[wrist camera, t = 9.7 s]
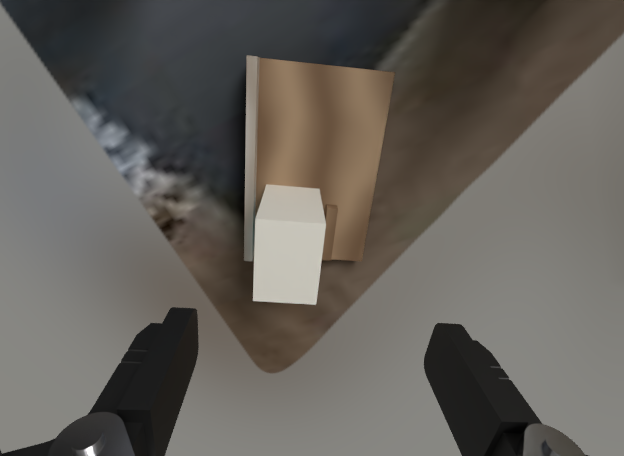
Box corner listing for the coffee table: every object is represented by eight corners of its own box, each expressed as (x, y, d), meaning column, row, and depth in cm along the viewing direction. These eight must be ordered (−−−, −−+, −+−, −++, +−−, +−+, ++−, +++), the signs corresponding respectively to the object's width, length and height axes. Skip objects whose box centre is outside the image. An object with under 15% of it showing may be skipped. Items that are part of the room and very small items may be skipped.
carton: (263, 250, 34) (252, 300, 26) (265, 184, 31) (254, 218, 23) (312, 253, 34) (316, 304, 26) (319, 188, 31) (326, 224, 24)
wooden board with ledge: (248, 246, 35) (243, 260, 32) (251, 57, 28) (246, 55, 25) (359, 254, 36) (364, 268, 33) (390, 72, 29) (400, 71, 26)
